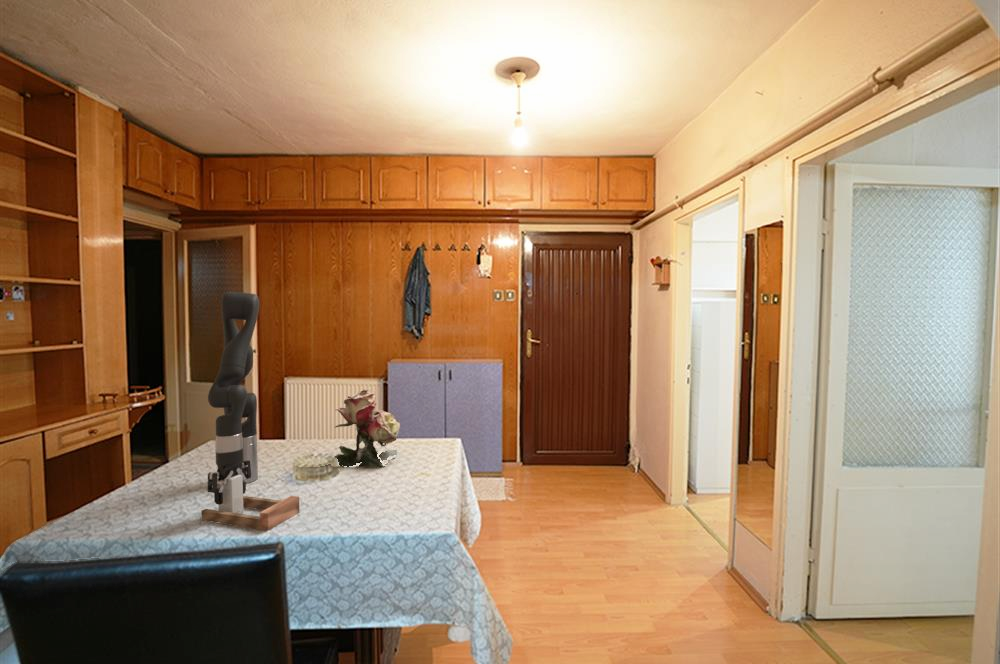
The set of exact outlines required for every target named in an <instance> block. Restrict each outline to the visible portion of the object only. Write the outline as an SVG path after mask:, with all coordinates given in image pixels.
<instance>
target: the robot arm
mask: <svg viewBox="0 0 1000 664" xmlns="http://www.w3.org/2000/svg"><path fill="white" fill-rule="evenodd" d="M220 306H221V307H220V308H221V309H220V311H221V320H222V329H223V351H222V355H221V358H220V359H221V360H220V366H219V370H218V373H217V375H216V377H215V380H214V382H213V383H212V385H211V387H210V389H209V392H208V394H207V401H208V403H209V405H210V407H212V408H215V409H223V415H222V414H221V415H220V416H217V417H216V419H215V441H214V443H215V444H214V445H215V465H216V466H217V470H216V471H213V472H208V474H207V492H208V493H212V494H213V498H214V501H213V502H214V503H215V504H216V505H218V506H219V505H221V504H223V492H222V490H223V488H224V486H226V485H227V483H228V481H229V479H230V478H231V477H233V476H236V475H242V479H243V495H244V494H246V491H247V488H246V487H247V484H249V483H253V482H254V481H257V479H258V478H259V475H258V474H259V471H258V468H259V467H258V466H259V465H258V464H259V463H258V435H257V434H258V430H257V411H258V400H257V396H256V394H255V393H254V392H247V389H246V387H245V386H244V385H241V384H242V382H243V381H244V380H245V378H246V377H247V376H248V375H249V374H250V372H251V371H252V369H253V367H254V366H253V365H254V350H253V347H252V345H251V341H252V338H253V335H254V331H255V328H256V324H257V320H258V316H259V312H260V299H259V296H258V295H257V294H255V293H250V292H249V293H248V292H238V291H225V292H224V293H223V294H222V296H221V303H220ZM236 320H241V321H244V324H243V326H242V328H241V330H239V327H238V326H237V322H236ZM244 418H246V420H244V421H243V422H242V419H244ZM221 480H222V481H223V482H220V481H221ZM219 486H220V487H219Z"/></svg>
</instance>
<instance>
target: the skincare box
mask: <svg viewBox="0 0 1000 664" xmlns="http://www.w3.org/2000/svg"><path fill="white" fill-rule="evenodd" d="M220 482H223V481H222V480H221V481H220ZM219 487H220V486H219ZM222 492H223V504H221V505H218V511H225V512H232V513H239V514H243V513H244V507H243V496H244V494H243V479H242V475H236V476H233V477H231V478H230V479H229V481H228V483H227V485H226V486H224V488H223V490H222Z"/></svg>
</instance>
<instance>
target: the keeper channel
mask: <svg viewBox="0 0 1000 664" xmlns="http://www.w3.org/2000/svg"><path fill="white" fill-rule="evenodd" d="M247 507H249V509H255V508H256V509H257V510H261V511H260V512H259V516H258V515H252V514H246V513H245V514H244V513H240V514H239V513H232V512H225V511H219V509H217V510H216V509H211V508H205V509H202V510H201V511H200V512H201V513H200V514H201V521H202V520H206V521H205V522H209V521H213V522H212V523H215V522H220V523H219V524H222V523H226V524H225V525H228V524H231V525H230V526H235V525H237V527H242V526H244V527H243V528H248V527H249V528H248V529H256V530H262V531H268V530H269V531H270V530H272V529H273V527H274V528H275V527H277V526H279V525H280V524H282V523H284V522H285V521H287V520H290V519H291V518H292V517H294V516H295V515H297V514H299V513H300V496H298V495H295V496H294V495H291V496H288V497H286V498H284V499H283V500H278V499H272V498H271V499H270V498H263V497H256V496H248V495H243V508H247ZM256 509H255V510H256ZM262 509H264V510H262ZM278 524H279V525H278Z"/></svg>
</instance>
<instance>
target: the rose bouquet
mask: <svg viewBox="0 0 1000 664" xmlns="http://www.w3.org/2000/svg"><path fill="white" fill-rule="evenodd" d="M376 398H377V397H376V395H375V393H373V392H371V390H370V389H369V390H367V389H363V390H361V391H359V392H357V393H355V394H354V395H353V396H352V397H351V396H350V395H348V396H347V399H344V401H343V404H344V405H345V406H344V407H339V409H335V411H338V413H340V414H341V416H342V417H343V419H344V420H345V421H346V422H347V423H341V424H337V425H336V426H334V428H339V427H351V426H352V425H353V426H354V425H355V427H356V428H355V430H356V431H357V432H356V438H355V439H356V440H355V442H356V444H355V447H356V448H355V449H352V448H348V447H346V446H343V445H340V446H339V447H338V449H339V450H340V454H339V453H338V454H336V455H335V456H334V457H336V458H337V459H338V462H339V465H340V466H341V467H343V466H347V467H349V466H353V465H356V463H360V462H362V463H361V464H360V465H359V467H358V468H362V467H364V468H377V467H378V468H379V467H384V466H383V465H382V463H381V462H380V459H378V457H377V454H378V453H377V452H378V451H377V449H376V447H375V446H374V445H375V444H374V443H375V442H377V443H378V444H379V445H380V446H381V447H384V448H385V449H387V448H386V446H387V445H388V444H391V443H393V442H395V441H397V437H398V435H399V433H400V429H401V423H400V422H398V421H397V419H395V415H393V414H392V413H391V412H387V411H385V410H383V409H376V405H377V403H375V402H376ZM361 443H363V444H364V446H363V447H362V448H361V447H360V444H361ZM384 451H385V452H382V453H381V454H380V455H379V457H380V458H381V460H382V461H383V460H387V458H388V457H389V456H394V455H396V456H397V454H398V453H397V451H398V450H397V449H393V450H392V449H391V450H390V449H388V450H384ZM341 453H342V454H341ZM342 465H343V466H342ZM384 468H385V467H384Z"/></svg>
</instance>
